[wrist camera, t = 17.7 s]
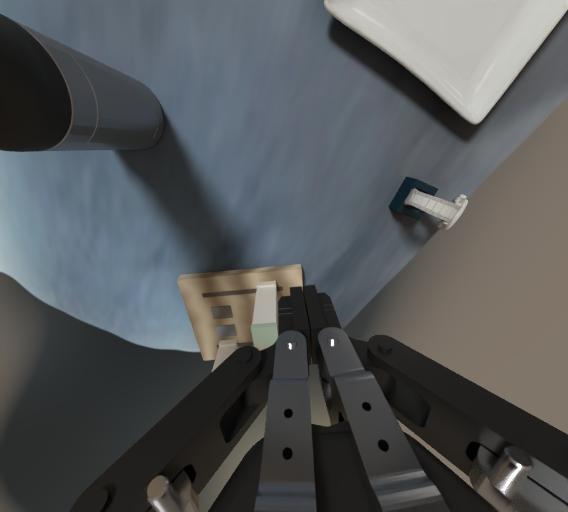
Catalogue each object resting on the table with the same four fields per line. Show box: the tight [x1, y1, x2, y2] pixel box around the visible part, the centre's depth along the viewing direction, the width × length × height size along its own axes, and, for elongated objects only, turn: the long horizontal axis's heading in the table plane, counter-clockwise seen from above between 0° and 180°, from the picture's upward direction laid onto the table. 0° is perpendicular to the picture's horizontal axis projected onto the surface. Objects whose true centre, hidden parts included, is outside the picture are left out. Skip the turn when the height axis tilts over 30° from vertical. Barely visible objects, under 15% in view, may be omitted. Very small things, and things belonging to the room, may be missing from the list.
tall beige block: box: [251, 281, 278, 347], centre depth 39 cm, size 4×4×12 cm
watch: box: [389, 177, 468, 231], centre depth 35 cm, size 6×8×11 cm
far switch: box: [212, 339, 238, 372], centre depth 46 cm, size 4×4×12 cm
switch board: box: [177, 264, 303, 360], centre depth 49 cm, size 24×22×2 cm
